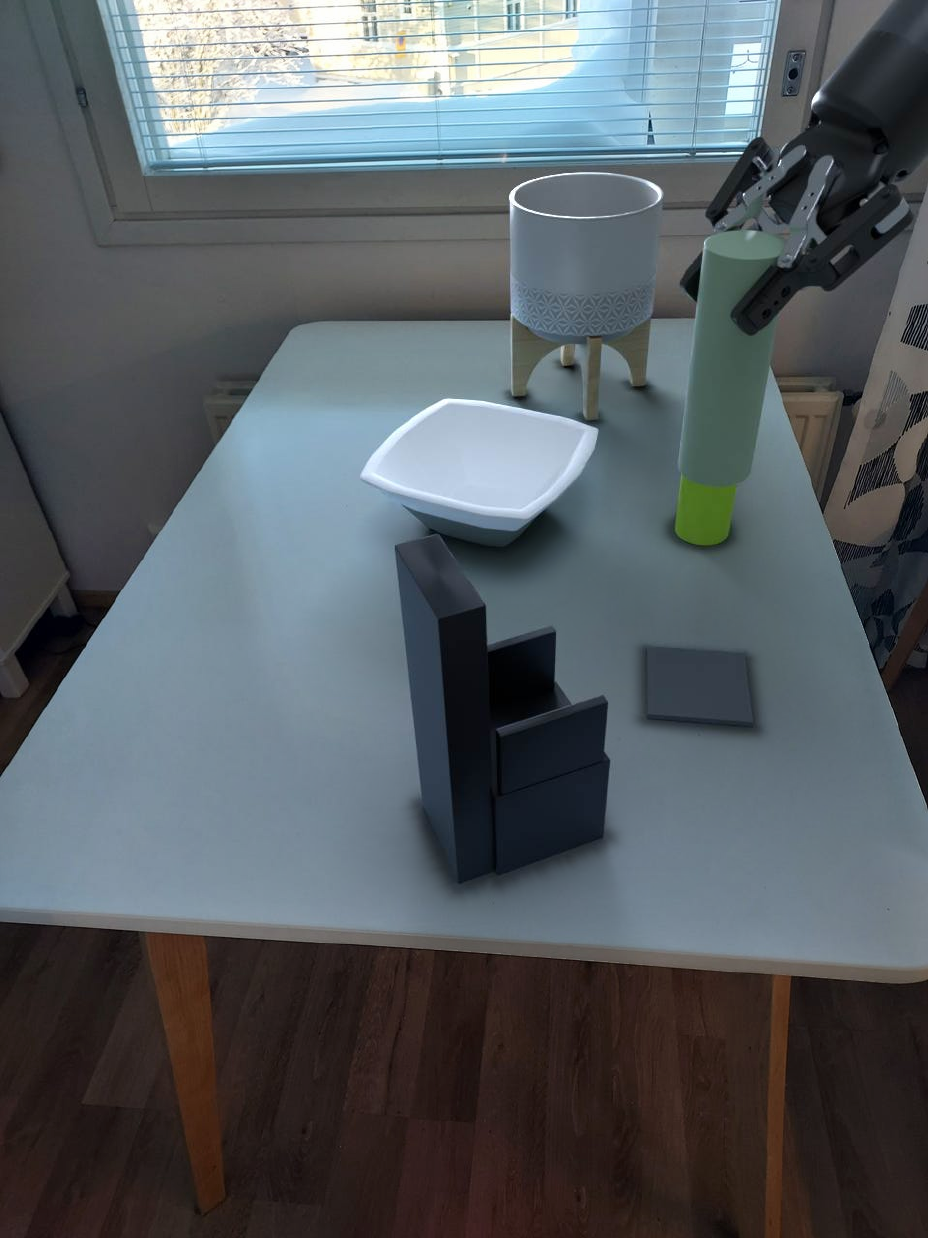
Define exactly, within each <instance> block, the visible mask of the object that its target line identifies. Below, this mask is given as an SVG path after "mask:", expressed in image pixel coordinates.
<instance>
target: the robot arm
mask: <svg viewBox="0 0 928 1238" xmlns="http://www.w3.org/2000/svg"><path fill="white" fill-rule="evenodd" d="M810 107H811V108H810V110H811V112H810V118H809V122H808V123H807V126H806V127H805V128H804V129H803V130H802V131H801V132H800V133H798V134H797V135H795V137H793V138H792V139H790V140H789V141H788V142H787V143H786V144H785V145H784V146H771V145H769V144H768V143H767V142H766V140H765V139H764V137H762V136H757V137H755V138H753V139H752V140H751V141H750V142H749V143H748V144H747V146H746V147H745V149H744V151H743V152H742V153H741V156H740V157H739V158H738V160H737V162H735V163H736V164H734V167H733V168H732V169H731V171H730V173H729V174H728V176H727V177H726V178H725V180H724V182H723V184H722V185H721V187H720V188H719V190H718V192H717V193H716V194H715V196H714V197H713V199H712V201H711V202H710V204H709V206H708V207H707V208H706V211H705V213H704V215H705V218H706V219H707V220H708V221H709V223H710V224H711V226H712V228H713V235H715V234H718V233H722V232H727V231H737V230H742V228H743V227H744V226H745V224H746V223H747V222H748V220H751V219H754V220H755V222H754V223H753V224H752V225H751V226H749V227H748V228H747V229H746V230H751V231H761V232H767V233H771V234H775V235H778V236H779V235H780V234H781V233H782V232H784V231H785V230H786V229H789V235H788V237H787V239H786V240H787V241H786V243H785V245H784V247H783V249H782V251H781V253H780V255H779V257H778V260H777V265H778V266H779V267H778V268H776V267H774V266H772V265H771V266H770V267H769V268H768V269H767V270H766V271H765V272H764V273H763V275H762V276H761V277H760V278H759V279H758V280H757V282H756V283H755V284H754V285H753V286H752V287H751V289H750V290H749V291H748V292H747V293H746V294H745V296H744V297H743V298H742V299H741V300H740V301H739V303H738V304H737V305H736V306H735V307H734V308H733V310H732V311H731V314H730V318H731V320H732V321H733V322H734V323H735V324H736V325H737V326H738V327H739V329H740V330H741V331H743V332H744V333H746V334H747V335H749V336H753V335H755V334H756V333H757V332H758V331H759V330H762V329H763V328H765V327H766V326H767V325H769V323H770V322H771V321H772V320H773V319H774V317H776V315H777V314H778V313H779V314H780V312H781V311H782V310H783V309H784V307H785V306H786V305H787V304H788V303H789V302H790V301H791V299H792V298H793V297H795V295H796V294H797V293H798V292H799V291H805V290H806V289H807V290H808V288H810V287H820V288H821V289H822V290H823V291H824V292H833V291H834V290H836V289H837V288H838V287H840V286H841V285H842V284H843V283H844V282H845V281H846V280H848V279H849V278H850V277H851V276H852V275H854V273H856V272H857V271H858V270H859V269H860V268H861V267H862V266H864V265H865V264H866V263H867V262H868V261H870V260H871V259H872V258H873V257H874V256H875V255H876V254H878V253H879V252H880V251H881V250H882V249H884V247H886V246H887V245H888V244H890V242H892V241H893V240H894V239H895V238H896V237H898V235H900V234H901V233H902V232H903V231H904V230H905V229H907V228H908V227H909V226H911V224H913V221H914V219H915V214H914V211H913V210H912V209H911V207H910V206H909V204H908V203H907V200H906V198H904V196H903V194H902V193H901V191H900V189H899V188H898V186H897V185H896V184H894V183H901V182H903V181H905V180H907V179H908V178H910V177H911V176H912V174H913V173H915V171H916V170H917V169H918V168H919V167H920V166H921V164H922V163H924V161H925V160H926V159H927V157H928V0H892V1H891V2H890V3H889V4H888V6H887V7H886V8H885V10H884V11H883V12H882V13H881V14H880V16H879V17H878V18H877V19H876V21H874V23H873V24H872V25H871V26H870V28H869V29H868V30H867V31H866V33H865V34H864V35H863V36H862V37H861V38H860V40H859V41H858V42H857V44H856V45H854V47H853V48H852V49H851V51H850V52H849V53H848V54H847V56H845V58H844V59H843V60H842V62H841V63H840V64H839V65H838V66H837V68H836V69H834V71H833V72H832V73H831V75H830V76H829V77H828V78H827V79H826V81H824V83H823V84H822V86H821V87H819V89H818V90H817V91H816V93H815V94H814V96H813V98H812V101H811V106H810ZM767 198H768V202H767V203H768V205H769V207H770V208H771V209H772V211H773V212H774V213H771V212H769V211H768V210H767V209H766V207H765V206H764V205H763V203H764V202H765V200H766V199H767ZM734 199H735V200H736V206H735V207H734V208H733V209H732V210H731V211H729V210H728V208H729V207H730V205H731V204H732V203H733V201H734ZM847 247H849V249H848V250H847V252H846V253H845V254H843V255H842V256H841V257H840V258H839V259H838V260H837V261H836V262H834V263H833V262H832V260H833V259H834V258H835V257H836V256H837V255H839V254H840V253H841V252H842V251H843V250H844V249H845V248H847ZM702 257H703V250H701V252H700V253H699V254H698V256H697V257H696V258H695V259H694V260H693V261H692V263H691V264H690V265H689V266H688V267H687V268H686V269H685V271H684V274H683V275H682V277H681V278H680V281H679V288H680V289H681V290H682V292H683V293H684V294H685V295H686V296H687V297H688V298H689V299H690V300H692V301H693V302H694V303H696V304H697V299H698V290H699V282H700V274H701V265H702ZM779 311H780V312H779Z"/></svg>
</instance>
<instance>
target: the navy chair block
mask: <svg viewBox="0 0 928 1238" xmlns="http://www.w3.org/2000/svg"><path fill="white" fill-rule="evenodd" d="M394 555H395V564H396V574H397V583H398V592H399V600H400V610H401V619H402V628H403V629H402V630H403V637H404V645H405V656H406V664H407V675H408V683H409V692H410V693H409V694H410V703H411V711H412V722H413V730H414V738H415V746H416V748H415V749H416V758H417V768H418V775H419V784H420V785H419V786H420V793H421V802H422V807H423V810H424V812H425V814H426V816H427V818H428V821H429V823H430V825H431V826H432V829H433V832H434V834H435V836H436V838H437V841H438V843H439V844H440V847H441V849H442V852H443V854H444V856H445V858H446V860H447V862H448V865H449V867H450V869H451V871H452V874H453V876H454V878H455V880H456V882H457V884H461V883H464V882H466V881H470V880H472V879H475V878H477V877H481V876H483V875H486V874H489V873H491V872H494V871H495V873H496V875H497V876H499V875H502V874H505V873H508V872H511V871H514V870H517V869H519V868H523V867H524V866H527V865H530V864H532V863H536V862H537V861H540V860H544V859H546V858H549V857H551V856H554V855H557V854H560V853H563V852H565V851H568V850H571V849H573V848H576V847H579V846H581V845H584V844H587V843H590V842H592V841H595V840H599V839H601V838H603V837H604V835H605V823H606V822H605V821H606V813H607V802H608V801H607V799H608V791H609V790H608V789H609V778H610V769H611V759H610V757H609V756H608V755H607V753H606V752H605V747H606V733H607V721H608V711H609V710H608V709H609V701H608V699H607V698H606V696H605V695H603V694H601V695H598V696H594V697H592V698H589V699H585V700H583V701H580V702H577V703H573V704H572V702H571V701H570V700H569V698H568V696H567V695H566V694H565V692H564V691H563V689H562V688H561V686H560V685H559V684H558V682H557V681H556V658H557V657H556V655H557V630H556V629H555V627H554V626H553V625H549V626H545V627H542V628H539V629H535V630H531V631H529V632H525V633H522V634H518V635H515V636H511V637H508V638H504V639H501V640H498V641H495V642H491V643H488V625H487V624H488V623H487V622H488V621H487V604H486V603H485V602H484V600H483V599H482V597H481V596H480V594H479V593H478V591H477V590H476V588H475V586H474V585H473V584H472V583H471V581H470V579H469V578H468V576H467V575H466V573H465V572H464V570H463V568H462V567H461V565H460V564H459V562H458V561H457V560H456V558H455V556H454V555H453V554H452V552H451V551H450V549H449V547H448V546H447V545H446V543H445V542H444V540H443V538H442V537H441V535H440V533H436V534H431V535H428V536H424V537H420V538H417V539H413V540H409V541H408V540H407V541H405V542H401V543H397V544H394Z"/></svg>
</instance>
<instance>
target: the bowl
mask: <svg viewBox="0 0 928 1238" xmlns="http://www.w3.org/2000/svg"><path fill="white" fill-rule="evenodd" d="M599 431H600V430H599V429H598V428H596V427H594V426H592V425H588V424H585V423H582V422H580V421H577V420H575V419H571V418H568V417H565V416H561V415H555V414H550V413H545V412H540V411H536V410H530V409H525V408H521V407H515V406H511V405H506V404H500V403H494V402H490V401H484V400H476V399H461V398H443V399H442V400H440V401H438V402H437V403H436V402H435V404H433V405H431V406H429V407H427V408H424V409H423V410H422V411H419V413H417V414H416V415H414V416H413V417H412V418H410V419H409V420H408V421H406V422H405V423H404V424H402V425H401V426H399V427H398V428H397V429H396V430H394V431H393V432H392V433H390V435H389V436H388V438H387V439H386V440H385V441H384V442H383V443H382V444H381V445H380V446H379V447H378V448H377V449H376V450H375V452H373V454H372V455H371V456H370V457H369V459H368V460H367V462H366V464H365V466H364V468H363V469H362V471H361V473H360V475H359V480H360V481H362V482H363V483H365V484H366V485H368V486H369V487H372V488H373V489H375V490H376V491H377V492H380V493H381V494H382V495H384V496H386V497H387V498H389V499H391V500H392V501H394V502H396V503H398V504H399V505H401V506H402V507H403V508H404V509H406V510H407V511H408V512H409V513H410V514H412V515H413V516H414V517H415V518H416V519H418V520H419V521H420V522H421V523H423V524H424V525H425V526H426V527H428V528H429V529H430V530H433V531H435V532H437V533H438V534H441V535H444V536H448V537H452V538H455V539H459V540H463V541H465V542H470V543H475V544H478V545H482V546H487V547H488V546H490V547H499V548H504V547H506V546H508V545H510V544H511V543H512V542H514V541H515V540H516V539H518V538H519V537H520V536H521V535H522V534H523V533H524V532H525V530H526V529H528V527H529V526H531V524H532V523H533V522H534V521H535V520H536V518H537V517H538V516H539V515H540V514H541V513H542V512H543V511H546V509H547V508H548V507H550V506H551V505H552V504H554V503H555V502H556V501H557V500H558V499H559V498H560V497H561V495H563V494H564V493H565V491H567V489H568V488H570V487H571V485H572V484H573V483H574V482H575V481H576V480H578V478H579V477H580V476H581V474H582V473H583V471H584V469H585V467H586V465H587V464H588V462H589V460H590V458H591V457H592V455H593V453H594V451H595V448H596V445H597V444H596V443H597V440H598V435H599Z"/></svg>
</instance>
